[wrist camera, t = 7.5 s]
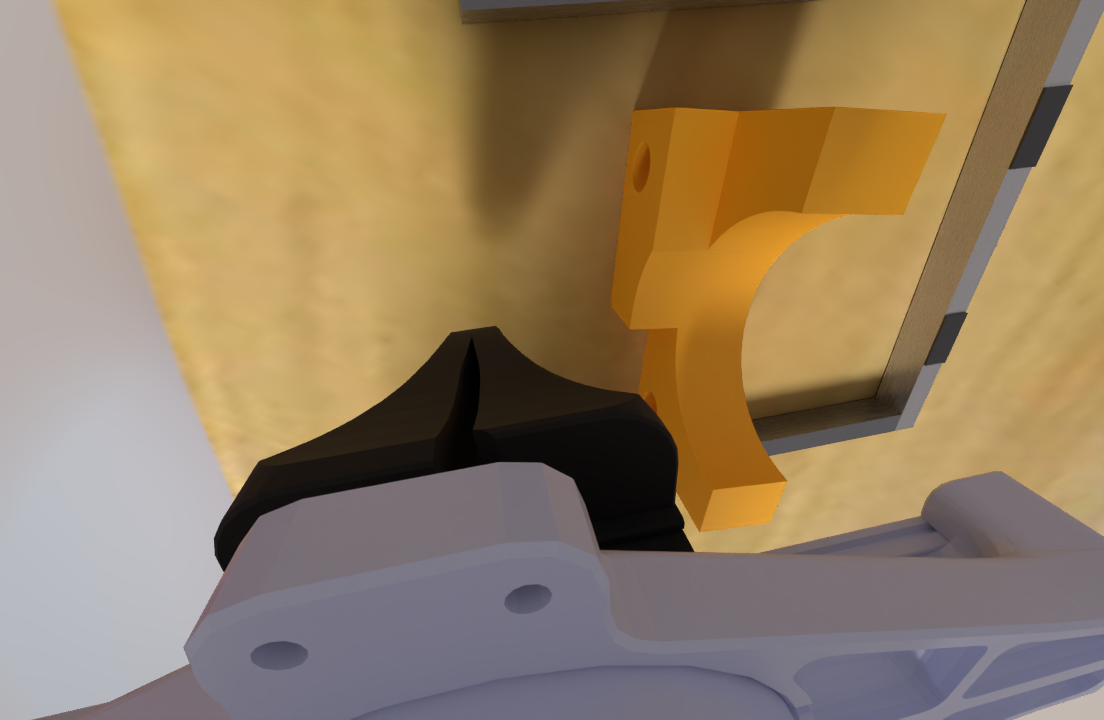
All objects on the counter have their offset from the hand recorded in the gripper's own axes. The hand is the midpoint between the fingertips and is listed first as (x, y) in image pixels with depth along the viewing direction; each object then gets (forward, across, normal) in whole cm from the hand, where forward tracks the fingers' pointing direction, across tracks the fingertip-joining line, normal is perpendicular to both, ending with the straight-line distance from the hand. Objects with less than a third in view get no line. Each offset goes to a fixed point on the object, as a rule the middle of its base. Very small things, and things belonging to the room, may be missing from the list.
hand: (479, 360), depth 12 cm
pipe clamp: (+4, -7, 0) cm, 9 cm away
